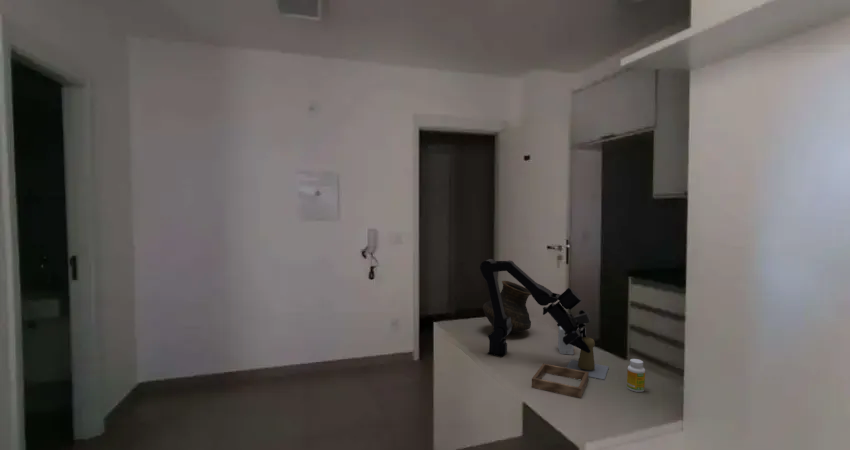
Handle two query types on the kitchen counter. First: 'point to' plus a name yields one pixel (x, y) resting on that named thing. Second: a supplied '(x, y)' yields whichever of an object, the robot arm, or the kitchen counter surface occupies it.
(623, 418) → the kitchen counter surface
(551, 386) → the walnut frame
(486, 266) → the robot arm
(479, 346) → the kitchen counter surface
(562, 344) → the small box
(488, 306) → the ceramic pot
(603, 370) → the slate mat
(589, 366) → the cork
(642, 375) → the supplement bottle
